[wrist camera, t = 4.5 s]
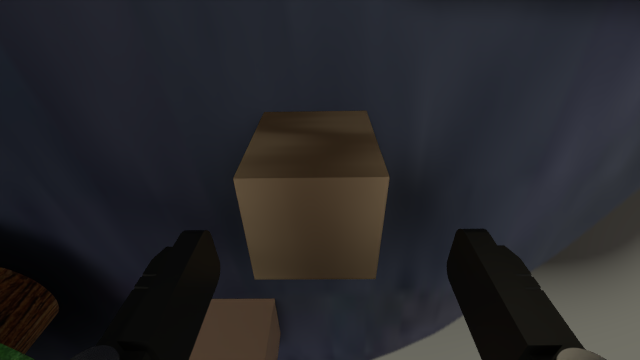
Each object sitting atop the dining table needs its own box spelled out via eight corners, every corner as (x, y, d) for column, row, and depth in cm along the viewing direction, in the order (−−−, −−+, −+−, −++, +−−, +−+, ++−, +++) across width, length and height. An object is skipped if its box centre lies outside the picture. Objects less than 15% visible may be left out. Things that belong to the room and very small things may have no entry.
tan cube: (223, 333, 26) (203, 400, 21) (210, 298, 23) (185, 367, 19) (280, 333, 25) (272, 401, 21) (274, 297, 23) (263, 367, 19)
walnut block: (274, 193, 17) (254, 279, 12) (264, 111, 14) (232, 178, 9) (360, 193, 17) (375, 278, 12) (366, 110, 14) (389, 177, 9)
